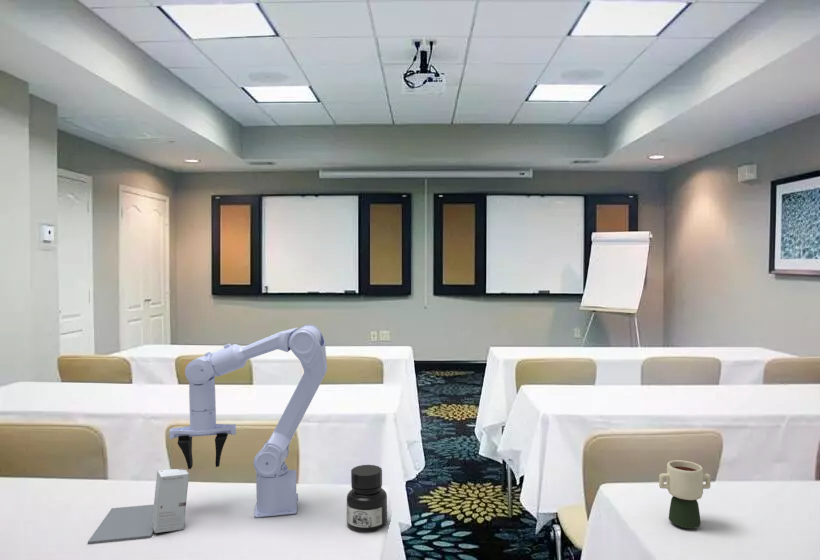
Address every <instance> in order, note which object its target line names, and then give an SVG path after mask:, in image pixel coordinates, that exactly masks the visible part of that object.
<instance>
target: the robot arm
mask: <svg viewBox="0 0 820 560" xmlns="http://www.w3.org/2000/svg"><path fill="white" fill-rule="evenodd" d="M298 328H299V327H293V328H290V329H286V330H281V331H279V332H276V333H274V334H272V335H269V336H266V337H263V338H262V339H260V340H257V341H254V342H252V343H250V344H247V345H245V346H242V345H239V344H236V343H234V344H232V343H227V344H225V345H223V348H220V349H219V350H216V351H213V352H211V351H208V352H204V355H202V356H199V357H197V358H194V359H192V360H191V361H190V362H188V364H187V365H186V366H185V369H184V375H185V376H184V377H186V379H187V381H188V385H189V387H188V389H189V390H188V394H189V395H188V398H189V425H187V426H181V427H172V428H170V429H169V431H168V433H169V435H168V436H169V440H174V439H176V438H177V445H178V447H179V449H180V450H181V452H182V454H183V457H184V459H185V461H186V465H187V470H191V469H192V468H193V465H194V463H193V438H194V437H204V436H205V437H206V436H207V437H208V436H215V438H214V442H215V443H214V444H215V445H214V447H215V464H214V465H215V468H218V467H220V465H221V456H222V451H223V449H224V446H225V444H226V442H227V441H226V440H227V439H228V435H232V436H234V435H236V434H237V424H236V423H235V424H234V423H233V424H231V423H230V424H228V423H227V424H226V423H225V424H224V423H217V410H216V409H217V408H216V407H217V405H216V384H215V383H216V379H215V378H217V377H221V376H224V375H226V374H229V373H231V372H235V371H237V370H240V369H243V368H244V367H245V366H246V364H247V361H248V360H250V359H253V358H257V357H259V356H261V355H265V354H268V353H271V352H274V351H276V350H279V351H283V352H286V353H289V351H291V352H292V354H293V355H294V356H295V357H296V358H297V359H298V360H299V361H300V363H301V366H302V368H303V371H304V372H303V374H302V376H301V377H300V378H301V379H300V380H299V382H298V383H297V386H296V388H295V390H294V392H293V394H292V395H291V397H290V399H289V401H288V403H287V405H286V407H285V409H284V410H283V412H282V414H281V416H280V418H279V420H278V421H277V424H276V426H275V427H274V430H273V432H272V433H271V435H270V437H269V439H268V440H267V441H266V442H264V444H263V445H262V448H261V449H260V450H259V451H258V452H257V453H256V455H255V456H254V459H253V468H254V470H255V480H256V481H255V482H256V483H255V485H256V486H255V487H256V488H255V489H256V502H255V507H254V512H253V513H254V514H253V517H254V518H265V517H275V516H284V515H294V514H295V515H296V514H297V512H298V508H297V506H298V505H297V504H298V503H297V502H299V494H298V492H297V470H296V469H289V468H288V466H287V463H286V462H285V460H286V459H287V458H288V457H289V456H288V455H289V453H290V444H291V441H292V440H293V437H294V436H295V433H296V431H297V429H298V427H299V426H300V424H301V421H302V420H303V418H304V416H305V414H306V412H307V411H308V409H309V406H310V405H311V403H312V400H314V397H315V395H316V393H317V391H318V389H319V387H320V386H321V383H322V381H323V380H324V377H325V376H326V374H327V371H328V363H327V362H328V361H327V351H326V342H327V341H326V339H325V338H324V335H323V333H322V331H321V329H320V328H319V327H317V326H316V325H314V324H305V325H302V326H301V327H300V328H299V329H298Z"/></svg>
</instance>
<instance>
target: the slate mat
mask: <svg viewBox="0 0 820 560" xmlns="http://www.w3.org/2000/svg"><path fill="white" fill-rule="evenodd" d="M153 509H154V504H145V505H133V506H123V507H122V506H121V507H112V508H110V510H109V511H108V513H107V514H106V516H105V517H104V518H103V520H102V521H101V523H100V524H99V526H98V527H97V528H96V530H94V532H93V533H92V535H91V536H90V538H89V539H88V541H87V545H92V544H102V543H111V542H113V543H114V542H120V541H121V542H123V541H130V540H131V541H132V540H142V539H151V538H152V536H153V534H154V533H155V532H154V530H153V527H152V519H153Z"/></svg>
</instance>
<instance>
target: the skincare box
mask: <svg viewBox="0 0 820 560" xmlns="http://www.w3.org/2000/svg"><path fill="white" fill-rule="evenodd" d="M189 473H190V472H188V471H187V469H186V468H173V469H171V468H170V469H165V470H164V469H162V470H157V471H156V481H155V490H154V499H153V500H154V501H153V505H154V509H153V519H152V527H153V530H154V533H155V534H157V533H165V532H175V531H181V530H184V529H185V517H186V511H187V501H188V500H187V498H188V497H187V496H188V488H189V481H190V480H189V478H190V474H189Z"/></svg>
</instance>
